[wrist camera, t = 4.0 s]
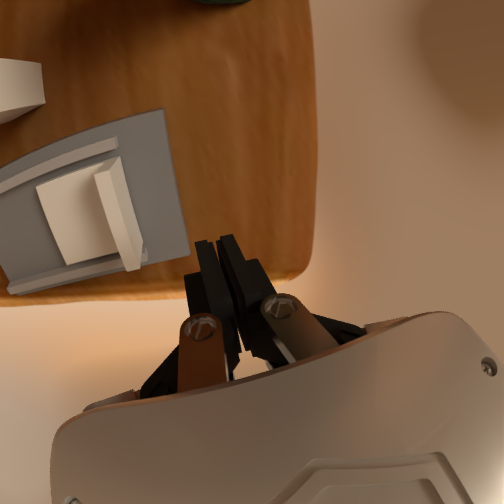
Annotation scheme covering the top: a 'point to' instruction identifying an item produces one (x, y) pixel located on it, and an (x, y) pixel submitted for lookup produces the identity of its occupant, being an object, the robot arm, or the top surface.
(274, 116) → the top surface
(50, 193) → the shutter
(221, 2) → the coffee jar
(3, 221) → the socket block
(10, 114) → the plug
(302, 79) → the top surface
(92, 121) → the top surface
